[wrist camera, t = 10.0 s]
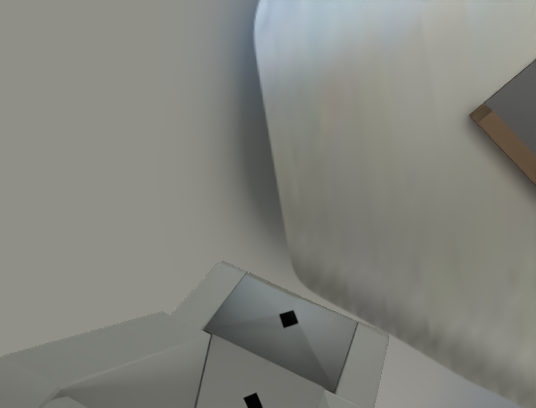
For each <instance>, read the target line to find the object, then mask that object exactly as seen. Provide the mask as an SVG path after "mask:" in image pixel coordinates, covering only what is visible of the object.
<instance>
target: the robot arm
mask: <svg viewBox="0 0 536 408" xmlns="http://www.w3.org/2000/svg"><path fill="white" fill-rule="evenodd" d="M388 341H389V335H388V333H387V332H384V331H382V330H380V329H377V328H375V327H372V326H370V325H367V324H365V323H363V322H360V321H358V322H357V321H356V320H353V319H351V318H349V317H347V316H344V315H342V314H339V313H337V312H335V311H332V310H330V309H328V308H326V307H323V306H321V305H319V304H317V303H314V302H312V301H310V300H307V299H305V298H302V297H301V296H299V295H297V294H295V293H292V292H290V291H288V290H286V289H284V288H282V287H280V286H277V285H275V284H273V283H271V282H269V281H267V280H265V279H262V278H260V277H258V276H256V275H254V274H252V273H248V272H247V271H244V270H242V269H240V268H238V267H236V266H234V265H231V264H229V263H227V262H225V261H222V262H220V263H217V264H216V265H215V266H214V267H213V268H212V270H211V271H210V272H209V273H208V274H207V275H206V276H205V277H204V278H203V279H202V281H201V282H200V283H199V284H198V285H197V286H196V287H195V288H194V289H193V290H192V291H191V293H190V294H189V295H188V296H187V297H186V298H185V299H184V300H183V301H182V302H181V304H180V305H179V306H178V307H177V308H176V309H175V310H174V312H172V314H171V315H169V314H167V313H165V312H158V313H154V314H151V315H147V316H143V317H140V318H136V319H133V320H129V321H126V322H122V323H119V324H115V325H111V326H107V327H104V328H100V329H97V330H93V331H90V332H86V333H83V334H79V335H76V336H72V337H68V338H64V339H61V340H57V341H54V342H50V343H46V344H43V345H39V346H36V347H32V348H29V349H25V350H21V351H18V352H15V353H11V354H7V355H3V356H1V357H0V408H374V406H375V401H376V396H377V392H378V387H379V383H380V378H381V374H382V369H383V364H384V359H385V355H386V350H387V346H388Z"/></svg>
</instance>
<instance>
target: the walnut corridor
mask: <svg viewBox="0 0 536 408" xmlns="http://www.w3.org/2000/svg"><path fill="white" fill-rule="evenodd" d="M470 116H471V117H472V118H473V119H474V121H475V122H476V123H477V124H478V125H479V126H480V127H481V128H482V129H483V130H484V131H485V132H486V133H487V134H488V135H489V136H490V138H491V139H492V140H493V141H494V142H495V143H496V144H497V145H498V146H499V147H500V148H501V149H502V150H503V151H504V152H505V153H506V155H507V156H508V157H509V158H510V159H511V160H512V161H513V162H514V163H515V164H516V165H517V166H518V167H519V168H520V169H521V170H522V172H523V173H524V174H525V175H526V176H527V177H528V178H529V179H530V180H531V181H532V182H533V183H534V184H535V185H536V156H535V155H534V153H533V152H532V151H531V150H530V149H529V148H528V147H527V146H526V145H525V144H524V143H523V142H522V141H521V140H520V139H519V137H518V136H517V135H516V134H515V133H514V132H513V131H512V130H511V129H510V128H509V127H508V126H507V125H506V124H505V123H504V121H503V120H502V119H501V118H500V117H499V116H498V115H497V114H496V113H495V112H494V111H493V110H492V109H490V108H489V107H487V106H486V105H484V104H482V105H481V106H480V107H478V108H477V109H476V110H475V111H474V112H472V113H471V114H470Z"/></svg>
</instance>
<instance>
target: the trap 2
mask: <svg viewBox="0 0 536 408" xmlns="http://www.w3.org/2000/svg"><path fill="white" fill-rule="evenodd" d="M483 104H484V105H486V106H487V107H489V108H490V109H492V110H493V111H494V112H495V113H496V114H497V115H498V116H499V117H500V118H501V119H502V120H503V121H504V123H505V124H506V125H507V126H508V127H509V128H510V129H511V130H512V131H513V132H514V133H515V134H516V135H517V136H518V137H519V139H520V140H521V141H522V142H523V143H524V144H525V145H526V146H527V147H528V148H529V149H530V150H531V151H532V152H533V153H534V155H535V156H536V60H534V61H533V62H532V63H531V64H530V65H528V66H527V67H526V68H525V69H524V70H523V71H521V72H520V73H519V74H518V75H517V76H515V77H514V78H513V79H512V80H511V81H509V82H508V83H507V84H506V85H505V86H503V87H502V88H501V89H500V90H499V91H497V92H496V93H495V94H494V95H493V96H491V97H490V98H489V99H488V100H487V101H486V102H484V103H483Z"/></svg>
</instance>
